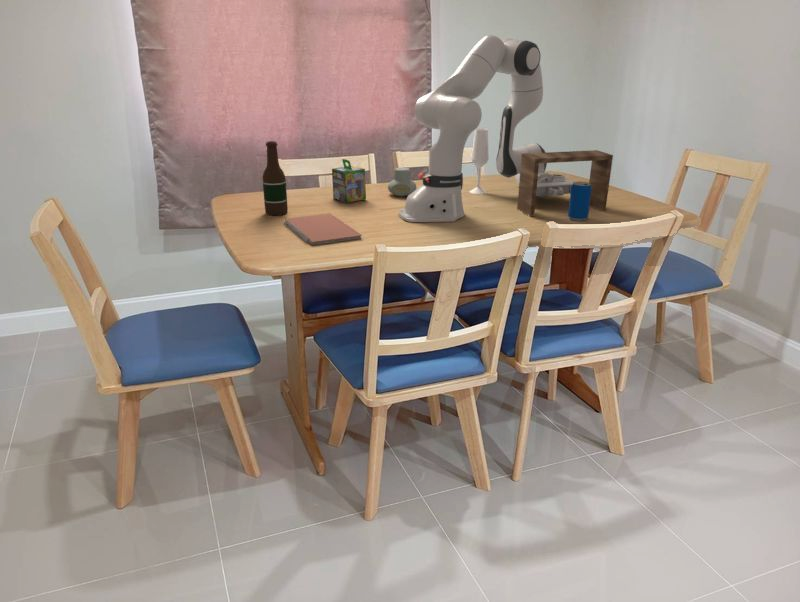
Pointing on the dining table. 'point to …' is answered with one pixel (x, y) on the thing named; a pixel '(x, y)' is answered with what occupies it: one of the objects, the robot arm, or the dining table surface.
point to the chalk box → (348, 183)
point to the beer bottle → (274, 183)
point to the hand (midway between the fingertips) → (559, 193)
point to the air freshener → (402, 183)
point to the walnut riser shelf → (531, 161)
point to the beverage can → (579, 200)
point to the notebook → (321, 229)
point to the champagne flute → (480, 154)
